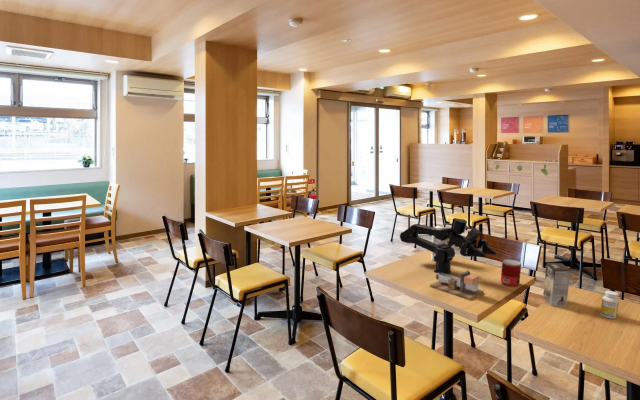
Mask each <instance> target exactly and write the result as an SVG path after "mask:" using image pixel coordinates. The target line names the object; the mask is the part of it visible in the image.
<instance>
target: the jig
mask: <svg viewBox="0 0 640 400" xmlns="http://www.w3.org/2000/svg"><path fill="white" fill-rule="evenodd" d="M469 274H471V271H470V270H466V271H464V272H462V273H460V278H461V279H460V287H458V286H455V281H454V280H451V279H448V283H445V282H442V281H439V280H437V281H436V282H433V283H431V284H429V287H430V288H432V289H435V290H438V291H441V292H444V293H447V294H449V295H453V296H456V297H458V298H462V299H464V300H468V301H471V300H473V299H475V298H477V297H478V296H481V295H483V294H484V290H481V289H479V288H478V290H477V291H475V292H474V291H471V290H467V289H464V276H467V275H469Z"/></svg>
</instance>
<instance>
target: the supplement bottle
mask: <svg viewBox="0 0 640 400" xmlns="http://www.w3.org/2000/svg"><path fill="white" fill-rule="evenodd" d="M618 297H619V293H618V292H615V291H612V290H605V292H604V295H603V296H602V299H601V304H600V305H601V306H600V315H601V316H602V317H604V318H608V319H616V318H617V317H618V312H619V307H620V306H619V304H620V299H618Z"/></svg>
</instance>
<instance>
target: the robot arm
mask: <svg viewBox="0 0 640 400" xmlns="http://www.w3.org/2000/svg"><path fill="white" fill-rule="evenodd" d="M451 222H452V223H451V227H443V228H434V227H435V226H434V227H432V226H428V225H425V224H420V223H414V224H412V225H410V226H409V227H408V228H406V229H405V230H404V231H402V232H400V234H399V239H400V241H401V242H402V243H406V244H413V245H416V246H418V247H420V248H423V249H425V250H426V251H429V252H430V253H431V252H433V253H435V254H436V256H434V262H435V270H433V272H434V273H436V274H437V273H438V272H441V273H445V274H450V273H451V274H452V271H451V266H452V265H451V261H452V260H453V259H454V258H455V255H456V251H455V248H454V247H453V246H454V245H455V246H456V247H458V249H459V254H460V255H461V256H463V257H472V258H473V257H479V258H480V257H481V258H485V257H486V255H496V254H497V252H496V250H494V249H492V248H491V247H490V246H489V240H487V239H480V240H478V237H480V235H481V234H482V232H481V230H480V229H478V228H472V229H470V230H469V232H468V233H467V235H466V236H464V235H462V234H464V233H465V231H466V229H467V223H468V221H467V220H466V219H463V218H457V217H453V218H452V221H451ZM418 234H423V235H424V234H425V235H428V236H431V237H432V236H434V237H435V238H437V239H439V240H441V241H443V240H447V239H449V241H448V242H447V243H448V245H447V244H445V243H444V244H441V245H437V244H435V243H432V241H429V240H427V239H425V238H423V237H421V236H419V235H418Z"/></svg>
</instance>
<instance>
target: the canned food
mask: <svg viewBox="0 0 640 400" xmlns="http://www.w3.org/2000/svg"><path fill="white" fill-rule="evenodd" d="M501 263H502V264H501V275H500V283H501V284H502V285H503V286H506V287H510V288H516V287H519V286H520V280H521V269H522V263H521V261H518V260H514V259H503V260H502V262H501Z"/></svg>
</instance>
